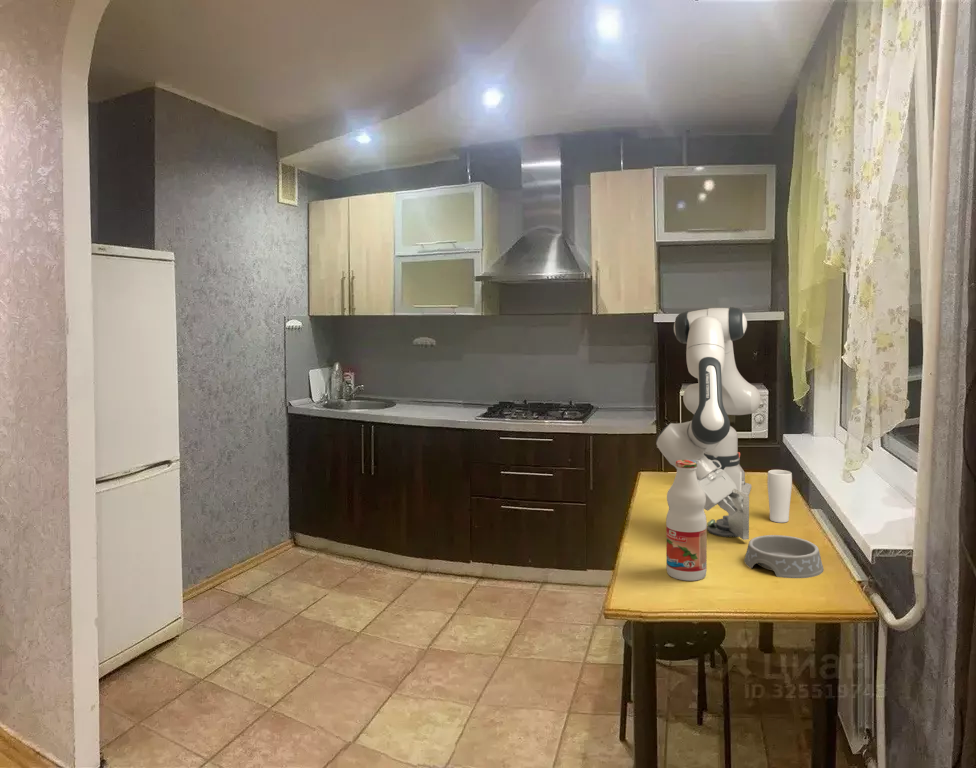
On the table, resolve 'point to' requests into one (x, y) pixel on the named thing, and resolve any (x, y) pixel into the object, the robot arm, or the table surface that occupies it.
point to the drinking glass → (779, 494)
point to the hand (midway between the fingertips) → (735, 513)
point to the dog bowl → (785, 556)
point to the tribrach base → (719, 530)
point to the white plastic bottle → (686, 525)
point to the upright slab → (737, 516)
